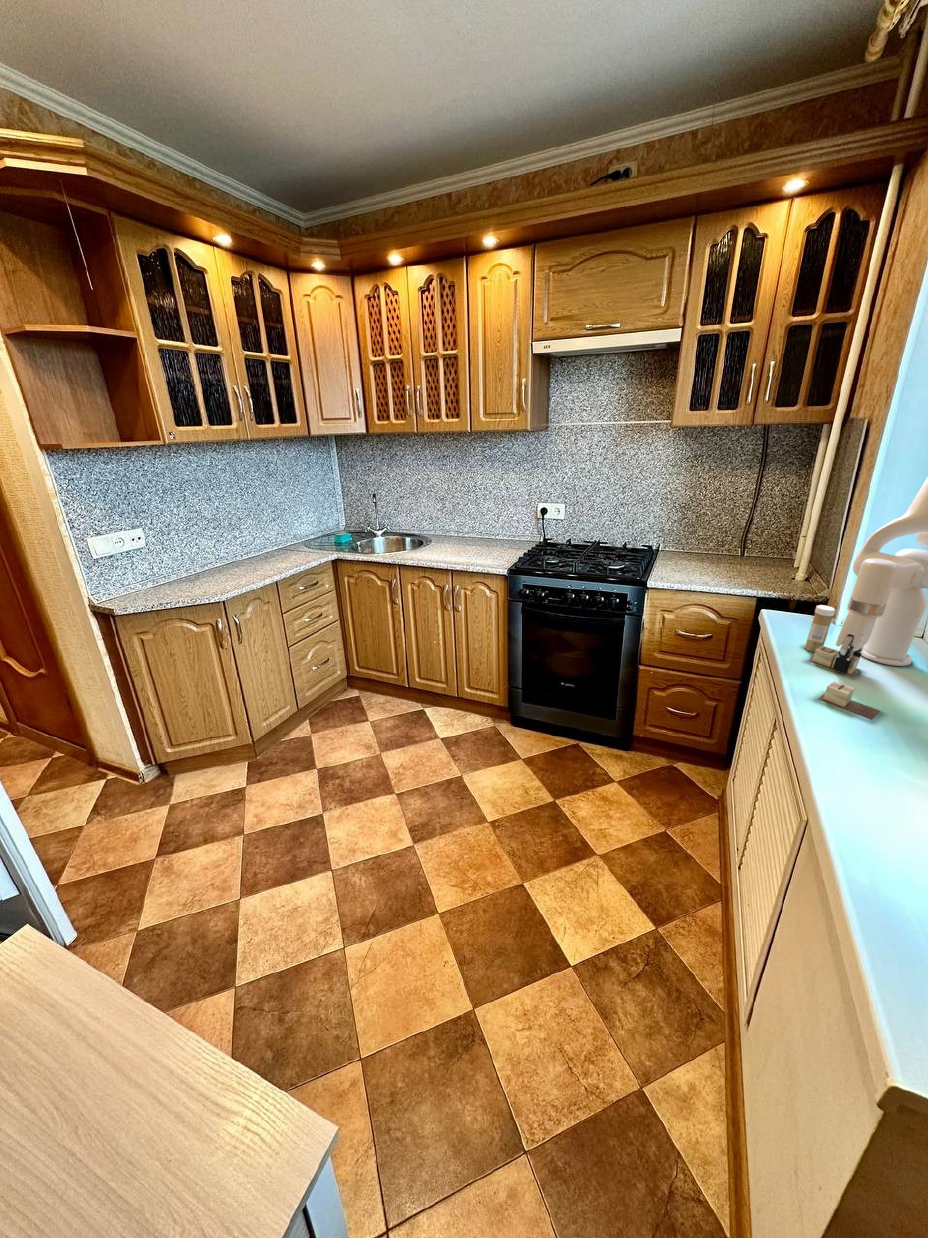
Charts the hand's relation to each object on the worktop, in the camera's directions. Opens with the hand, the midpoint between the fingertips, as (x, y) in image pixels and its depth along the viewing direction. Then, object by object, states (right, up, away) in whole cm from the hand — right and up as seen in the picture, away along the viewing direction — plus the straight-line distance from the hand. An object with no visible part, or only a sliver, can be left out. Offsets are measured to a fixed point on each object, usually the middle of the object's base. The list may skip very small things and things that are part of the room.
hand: (844, 667), depth 138 cm
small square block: (0, 0, 0) cm, 1 cm away
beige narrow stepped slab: (-2, 0, +2) cm, 3 cm away
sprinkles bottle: (0, +4, +13) cm, 13 cm away
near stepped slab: (-12, -8, -17) cm, 22 cm away
